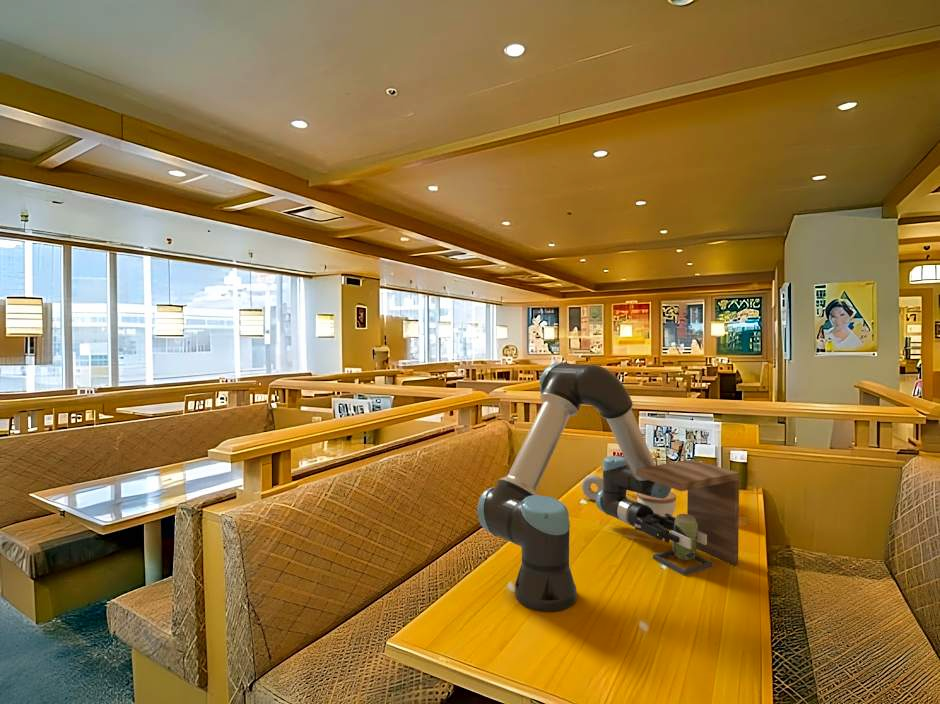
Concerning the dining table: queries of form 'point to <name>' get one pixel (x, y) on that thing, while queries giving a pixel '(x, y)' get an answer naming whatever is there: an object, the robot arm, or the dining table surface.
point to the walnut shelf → (705, 502)
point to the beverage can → (689, 529)
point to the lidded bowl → (659, 503)
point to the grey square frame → (686, 571)
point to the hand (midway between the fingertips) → (698, 541)
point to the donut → (587, 483)
